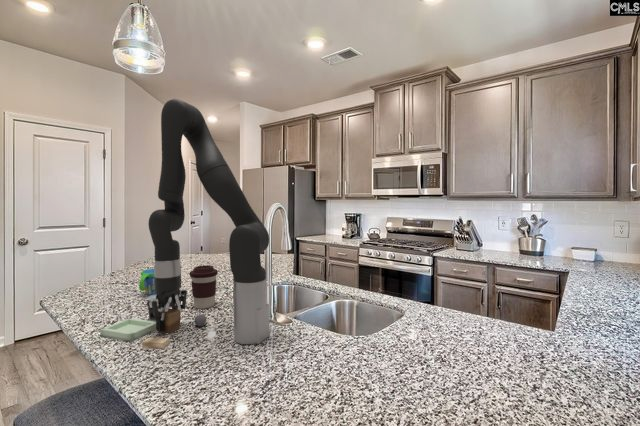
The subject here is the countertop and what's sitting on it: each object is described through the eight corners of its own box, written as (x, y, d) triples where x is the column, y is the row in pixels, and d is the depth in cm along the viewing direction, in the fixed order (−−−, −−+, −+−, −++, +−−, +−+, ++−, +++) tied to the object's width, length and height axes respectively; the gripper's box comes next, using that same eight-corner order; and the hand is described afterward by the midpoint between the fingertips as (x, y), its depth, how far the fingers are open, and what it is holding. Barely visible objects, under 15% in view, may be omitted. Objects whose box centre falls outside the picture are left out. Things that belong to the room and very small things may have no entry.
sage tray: (158, 328, 103) (158, 322, 103) (131, 341, 94) (130, 334, 94) (129, 324, 107) (129, 317, 107) (100, 335, 98) (100, 329, 98)
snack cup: (149, 300, 133) (149, 275, 133) (130, 297, 137) (129, 273, 136) (178, 290, 148) (178, 267, 147) (160, 288, 151) (159, 266, 151)
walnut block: (180, 328, 103) (179, 309, 103) (169, 334, 99) (168, 314, 99) (168, 326, 105) (168, 308, 105) (157, 332, 101) (157, 312, 100)
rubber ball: (208, 324, 107) (208, 313, 106) (201, 328, 103) (201, 317, 103) (199, 323, 108) (199, 312, 108) (192, 327, 104) (191, 316, 104)
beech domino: (169, 345, 92) (169, 338, 92) (162, 350, 89) (162, 342, 89) (149, 344, 93) (148, 337, 93) (142, 349, 90) (142, 341, 90)
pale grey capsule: (167, 318, 113) (166, 294, 112) (156, 322, 108) (155, 298, 108) (156, 316, 114) (156, 293, 114) (145, 321, 110) (145, 297, 110)
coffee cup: (184, 307, 123) (183, 268, 123) (205, 300, 132) (204, 263, 132) (203, 312, 119) (203, 270, 118) (223, 304, 128) (223, 265, 127)
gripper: (159, 280, 93) (160, 339, 94) (193, 270, 107) (194, 321, 108) (138, 278, 96) (140, 335, 96) (175, 268, 109) (176, 318, 110)
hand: (168, 327), depth 102 cm, fingers open, 5 cm apart
